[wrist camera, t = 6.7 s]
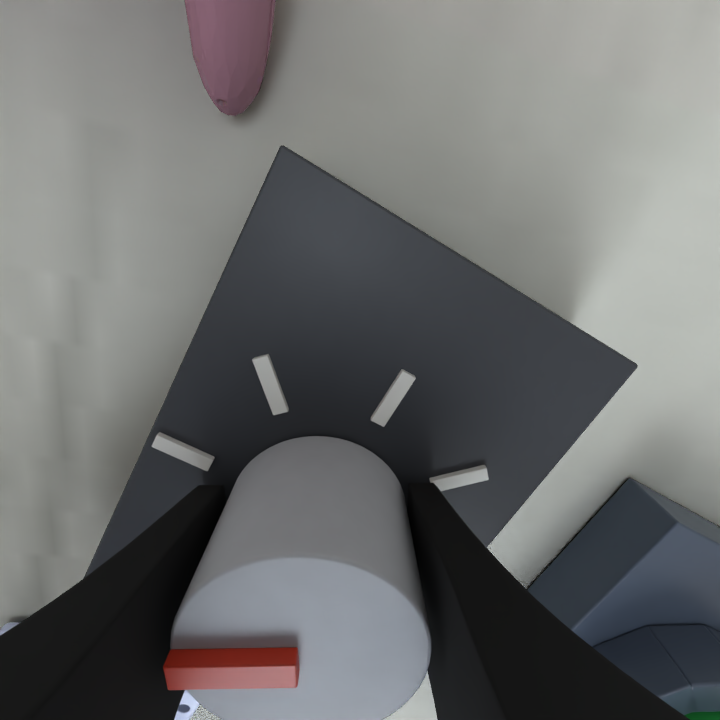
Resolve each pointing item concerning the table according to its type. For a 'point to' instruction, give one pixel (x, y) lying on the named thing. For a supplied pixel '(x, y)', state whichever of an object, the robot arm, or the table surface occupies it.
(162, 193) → the table surface
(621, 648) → the block
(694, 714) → the button
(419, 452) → the panel
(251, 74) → the pink curved piece
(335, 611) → the program dial
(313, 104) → the table surface
